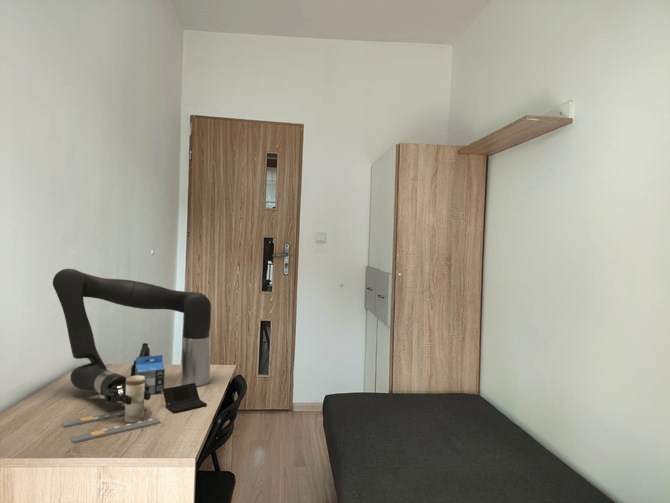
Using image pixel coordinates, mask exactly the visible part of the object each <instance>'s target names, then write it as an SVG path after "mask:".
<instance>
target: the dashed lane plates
mask: <svg viewBox="0 0 670 503" xmlns="http://www.w3.org/2000/svg"><path fill="white" fill-rule="evenodd" d="M146 411H147V408H146V407H145V406H144V412H146ZM122 416H125V409H121V410H118V411H112V412H106V413H101V414H95V415H90V416H86V417H80V418H76V419H71V420H68V421H67V420H65V421H62V422H61V425H62V427H63V428H68V427H74V426H78V425H82V424H89V423H93V422H97V421H102V420H107V419H113V418H116V417H122ZM161 423H162V422H161V420H160V419H159V418H158V417H156V418H149V419H146V420H141V421H138V422H132V423H127V424H124V425H121V426H120V425H118V426H114V427H111V428H104V429H101V430H96V431H91V432H88V433H85V434H79V435H75V436H74V435H73V436H71V437H70V440H71V442H72V443H73V444H75V443H80V442H85V441H89V440H93V439H98V438H102V437H106V436H111V435H115V434H119V433H124V432H128V431H133V430H136V429H141V428H145V427H150V426H153V425H154V426H155V425H159V424H161Z"/></svg>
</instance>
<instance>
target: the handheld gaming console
mask: <svg viewBox="0 0 670 503" xmlns="http://www.w3.org/2000/svg"><path fill="white" fill-rule="evenodd" d="M197 387H198V386H196V384H195V383H191V384H186V385H182V384H181V385H177V386H171V387H167V388H165V387H164V389H163V393H162V394H163V397H164V402H165V405H166V407H165V409H166V410H168V411H170V412H171V413H172V414H174V415H175V413H176V414H179V413H184V412H188V411H193V410H197V409H201V408H206V407H207V405H208V404H207V402H205V401H203V400H201V398H200V395H199V392H198V388H197Z"/></svg>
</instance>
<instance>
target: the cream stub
mask: <svg viewBox="0 0 670 503" xmlns="http://www.w3.org/2000/svg"><path fill="white" fill-rule="evenodd" d="M144 387H145V377H144V376H140V375H136V376H131V375H130V376H128V377H126V395H128V396H130V397H131V404H130V405H127V404H124V410H125V415H124V421H125V422H127V423H137V422H140V421H143V420H144V416H145V414H144V413H145V411H144V407H145V399H144Z"/></svg>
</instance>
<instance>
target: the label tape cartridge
mask: <svg viewBox="0 0 670 503" xmlns="http://www.w3.org/2000/svg"><path fill="white" fill-rule="evenodd" d="M148 359H150V361H147V362H145V360H148ZM135 360H136V366H135V376H136V375H140V376H144V377H145V383H146V384H147V385H148V386H149V387H150V388H149V392H150V396H151V395H156V394H163V389H165V373H166V372H165V366H164V362H163V354H161V355H159V354H158V355H150V356H146V357H139V356H136V357H135Z"/></svg>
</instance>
